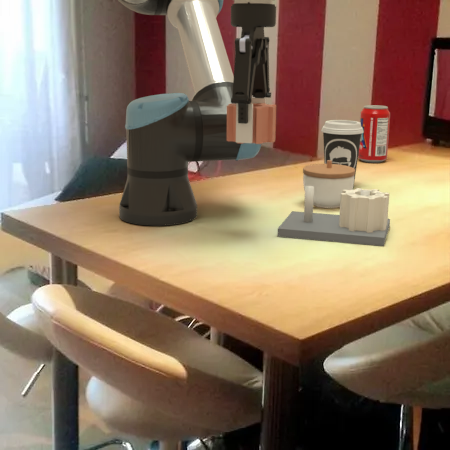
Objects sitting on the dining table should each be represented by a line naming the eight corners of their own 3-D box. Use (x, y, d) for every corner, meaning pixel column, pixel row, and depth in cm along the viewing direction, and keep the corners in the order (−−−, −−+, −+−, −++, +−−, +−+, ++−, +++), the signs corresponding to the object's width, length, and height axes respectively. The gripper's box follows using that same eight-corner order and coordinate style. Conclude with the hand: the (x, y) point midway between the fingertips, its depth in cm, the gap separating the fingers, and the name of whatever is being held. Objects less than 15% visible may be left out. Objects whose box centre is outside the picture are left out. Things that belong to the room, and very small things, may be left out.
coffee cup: (369, 188, 170) (373, 123, 166) (338, 193, 165) (341, 126, 161) (340, 180, 178) (343, 118, 174) (310, 185, 173) (312, 121, 169)
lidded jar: (352, 212, 149) (354, 166, 146) (299, 209, 151) (300, 164, 148) (354, 200, 159) (356, 157, 156) (304, 197, 161) (305, 155, 158)
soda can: (380, 164, 198) (384, 108, 194) (353, 161, 202) (356, 106, 198) (391, 160, 205) (394, 105, 201) (364, 157, 209) (367, 103, 205)
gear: (224, 143, 125) (224, 107, 123) (230, 135, 133) (230, 102, 131) (273, 144, 124) (274, 108, 122) (276, 137, 132) (277, 103, 130)
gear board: (277, 236, 132) (278, 192, 129) (292, 218, 144) (293, 178, 141) (383, 246, 126) (386, 200, 124) (389, 226, 138) (392, 184, 136)
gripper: (259, 0, 111) (256, 149, 117) (289, 4, 131) (285, 131, 137) (212, 0, 113) (211, 146, 120) (248, 3, 133) (246, 129, 139)
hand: (251, 138), depth 128 cm, fingers closed on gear, 9 cm apart
